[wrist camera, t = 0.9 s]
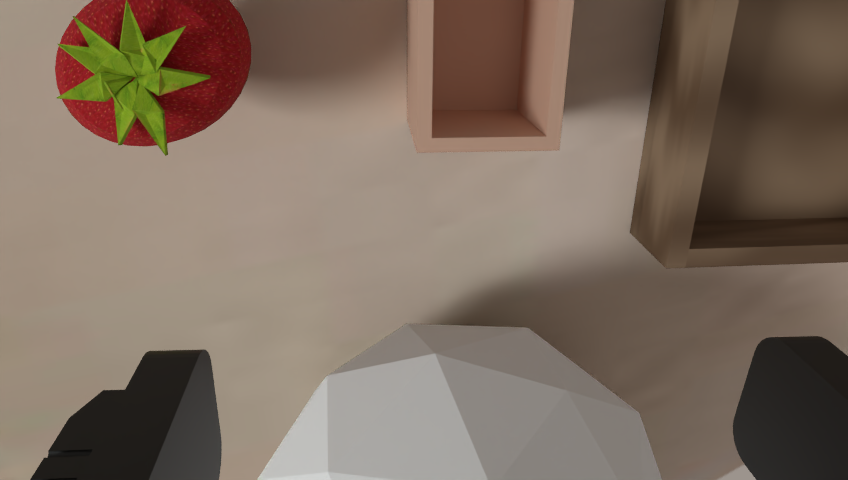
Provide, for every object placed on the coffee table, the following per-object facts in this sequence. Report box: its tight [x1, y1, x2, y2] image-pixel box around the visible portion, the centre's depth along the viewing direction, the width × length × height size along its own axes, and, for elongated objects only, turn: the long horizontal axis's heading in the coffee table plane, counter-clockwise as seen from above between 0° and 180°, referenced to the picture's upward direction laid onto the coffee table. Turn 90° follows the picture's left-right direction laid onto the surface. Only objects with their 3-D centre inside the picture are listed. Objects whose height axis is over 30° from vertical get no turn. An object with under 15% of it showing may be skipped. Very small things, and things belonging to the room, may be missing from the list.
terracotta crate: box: [407, 0, 574, 153], centre depth 27 cm, size 9×6×6 cm, turn 179°
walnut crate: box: [630, 0, 848, 268], centre depth 30 cm, size 16×13×4 cm
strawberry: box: [55, 0, 251, 156], centre depth 24 cm, size 6×8×10 cm
